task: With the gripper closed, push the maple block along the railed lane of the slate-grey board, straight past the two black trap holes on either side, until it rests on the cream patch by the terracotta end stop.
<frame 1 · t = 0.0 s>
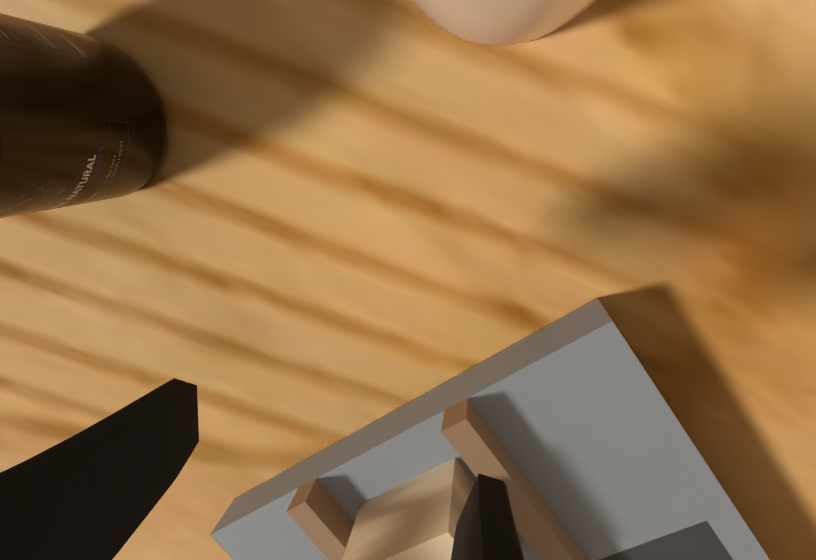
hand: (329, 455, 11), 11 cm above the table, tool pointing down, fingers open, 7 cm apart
supplement bottle: (108, 119, 21), on the table
maple block: (440, 523, 22), point 2 cm above the table, touching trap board
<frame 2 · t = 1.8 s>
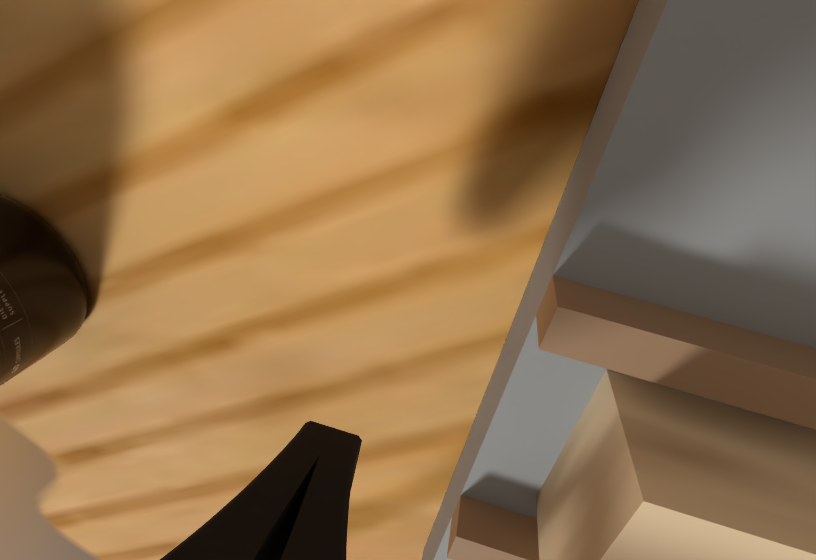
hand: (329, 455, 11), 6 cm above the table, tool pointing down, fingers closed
supplement bottle: (22, 263, 18), on the table
maple block: (661, 467, 13), point 2 cm above the table, touching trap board
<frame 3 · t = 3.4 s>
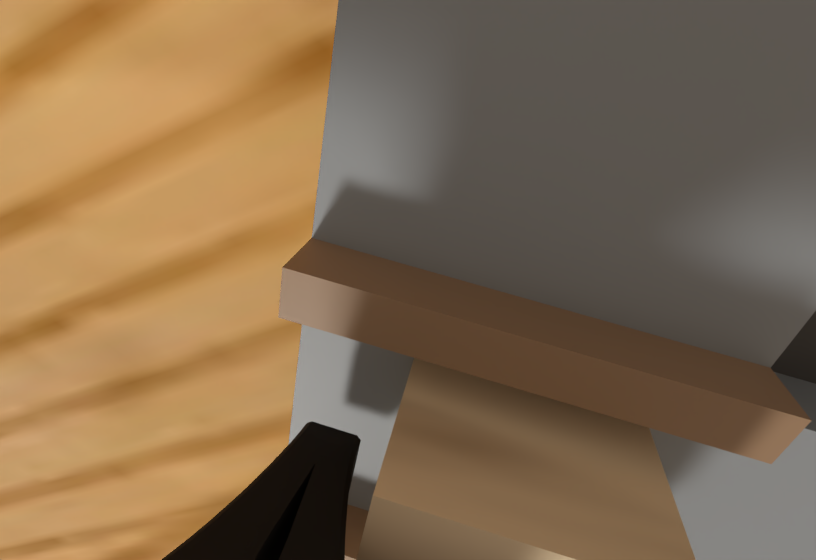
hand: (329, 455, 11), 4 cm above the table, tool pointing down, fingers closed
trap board: (733, 467, 14), on the table
maple block: (494, 459, 12), point 3 cm above the table, touching gripper
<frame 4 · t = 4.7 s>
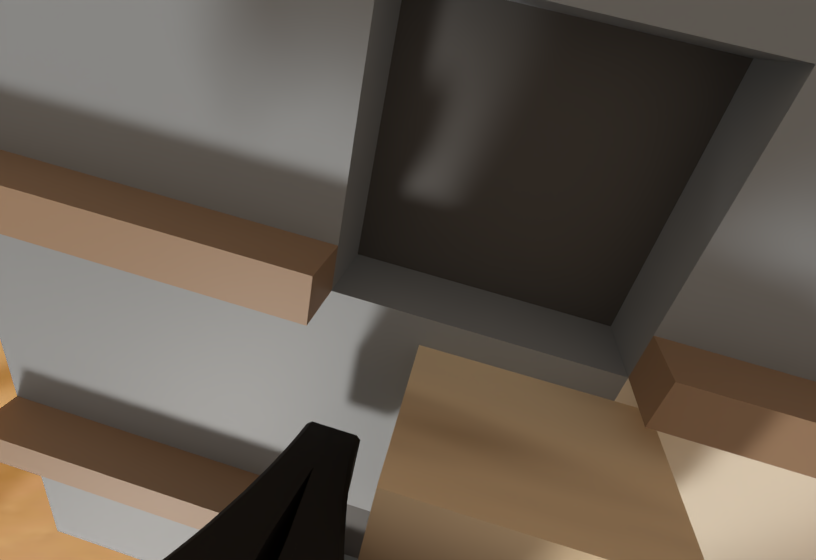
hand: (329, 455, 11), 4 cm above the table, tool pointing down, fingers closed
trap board: (433, 377, 15), on the table
maple block: (497, 454, 12), point 2 cm above the table, touching gripper, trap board
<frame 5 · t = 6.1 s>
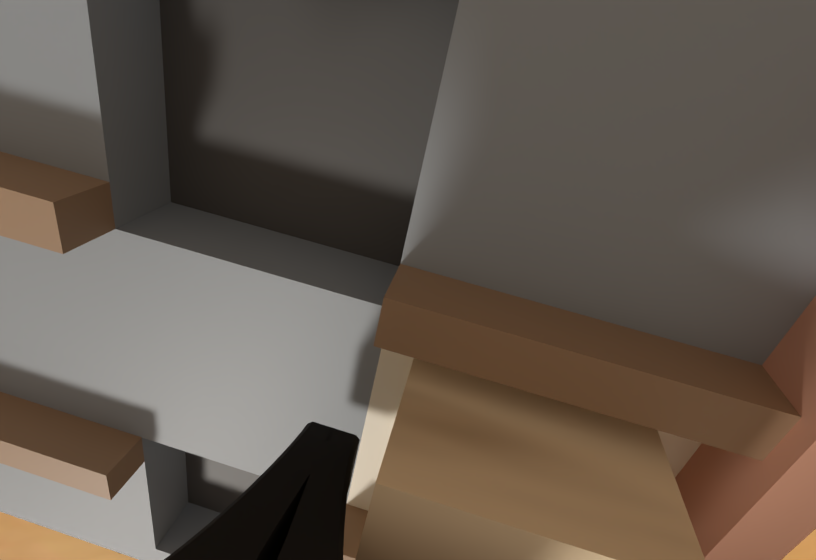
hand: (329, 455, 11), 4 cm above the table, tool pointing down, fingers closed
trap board: (269, 328, 15), on the table
maple block: (497, 452, 12), point 2 cm above the table, touching gripper, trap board
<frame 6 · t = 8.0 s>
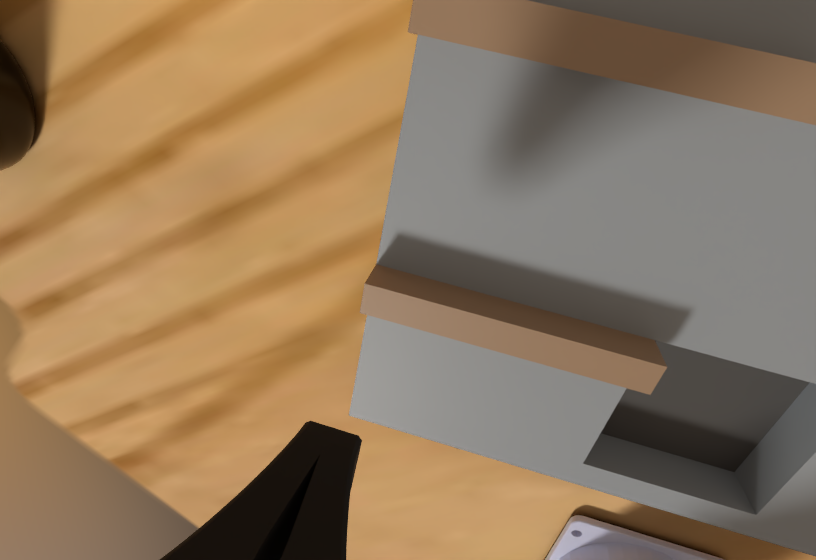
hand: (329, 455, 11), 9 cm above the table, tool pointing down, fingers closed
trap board: (771, 237, 16), on the table
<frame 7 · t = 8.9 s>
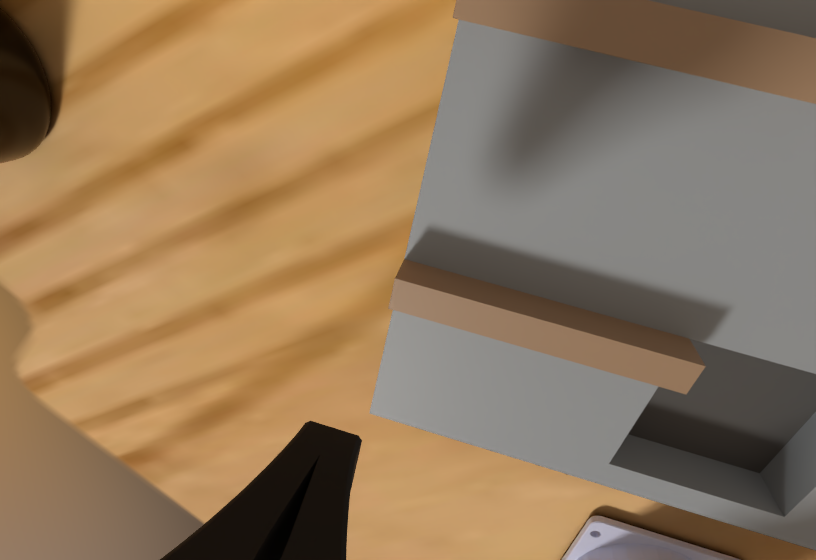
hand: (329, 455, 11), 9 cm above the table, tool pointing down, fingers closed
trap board: (809, 234, 16), on the table
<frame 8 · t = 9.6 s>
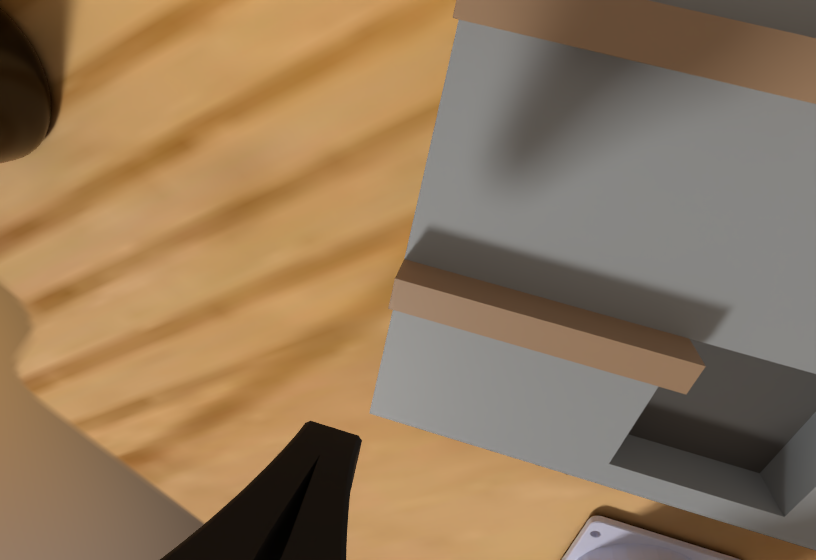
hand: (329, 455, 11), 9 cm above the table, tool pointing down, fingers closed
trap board: (809, 234, 16), on the table
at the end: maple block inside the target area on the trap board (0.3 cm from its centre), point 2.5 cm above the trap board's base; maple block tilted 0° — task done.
